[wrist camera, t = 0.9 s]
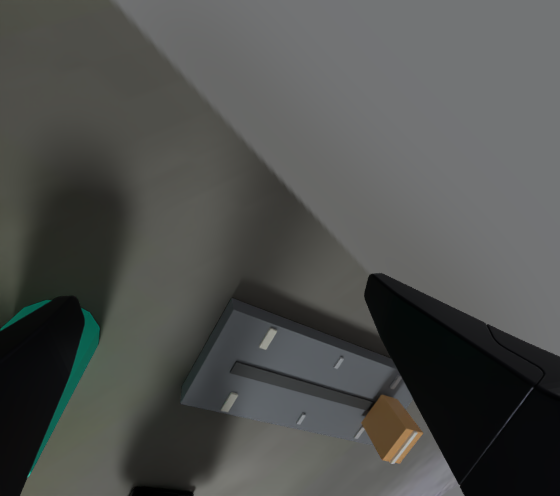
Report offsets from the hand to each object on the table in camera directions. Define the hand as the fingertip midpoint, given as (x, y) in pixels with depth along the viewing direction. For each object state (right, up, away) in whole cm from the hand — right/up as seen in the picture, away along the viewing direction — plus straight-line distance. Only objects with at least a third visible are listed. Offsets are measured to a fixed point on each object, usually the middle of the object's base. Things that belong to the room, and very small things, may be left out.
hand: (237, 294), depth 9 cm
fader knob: (+12, -16, +22) cm, 30 cm away
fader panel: (+5, -12, +21) cm, 25 cm away
